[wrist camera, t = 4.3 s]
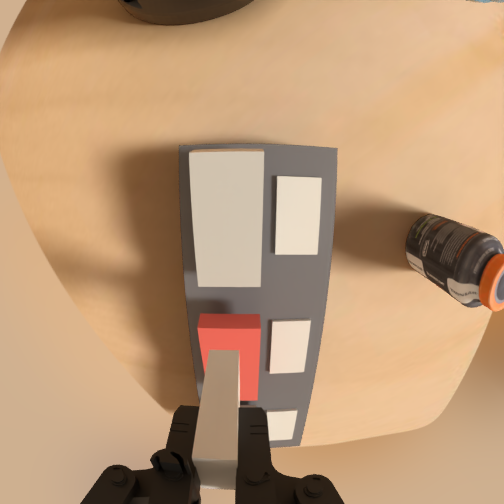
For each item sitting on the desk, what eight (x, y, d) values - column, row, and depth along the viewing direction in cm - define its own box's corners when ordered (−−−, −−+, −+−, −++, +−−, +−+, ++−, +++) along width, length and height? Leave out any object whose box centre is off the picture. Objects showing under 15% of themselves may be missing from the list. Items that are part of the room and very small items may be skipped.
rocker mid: (200, 313, 18) (197, 327, 16) (259, 313, 18) (260, 328, 16) (210, 386, 21) (209, 399, 20) (256, 386, 21) (257, 400, 20)
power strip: (193, 150, 21) (175, 144, 16) (318, 151, 21) (342, 147, 16) (211, 415, 30) (207, 453, 24) (294, 414, 30) (300, 451, 24)
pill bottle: (405, 278, 25) (475, 337, 14) (400, 221, 23) (484, 260, 12) (449, 261, 25) (521, 306, 14) (446, 207, 23) (529, 236, 12)
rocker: (193, 149, 15) (188, 152, 13) (262, 148, 15) (264, 151, 14) (201, 274, 18) (198, 286, 17) (259, 274, 18) (260, 286, 17)
